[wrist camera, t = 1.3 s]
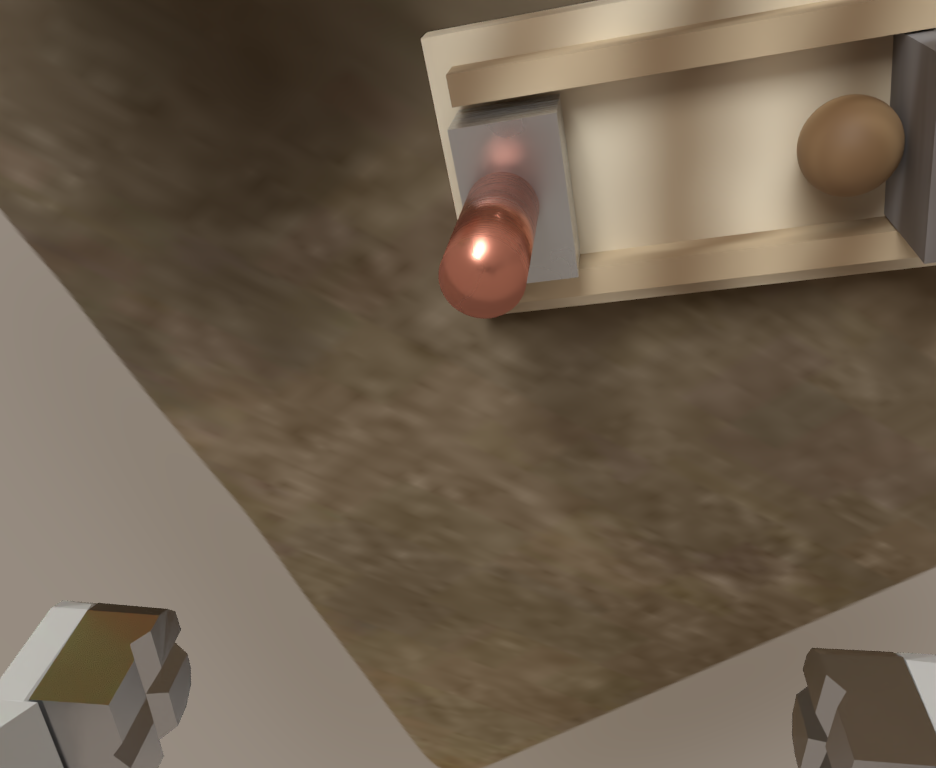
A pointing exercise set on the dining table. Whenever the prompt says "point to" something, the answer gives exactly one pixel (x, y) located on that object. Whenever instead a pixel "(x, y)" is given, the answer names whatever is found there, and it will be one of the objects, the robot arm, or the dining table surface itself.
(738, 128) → the wooden rail tray
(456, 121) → the lever
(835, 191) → the brown ball
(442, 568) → the dining table surface
